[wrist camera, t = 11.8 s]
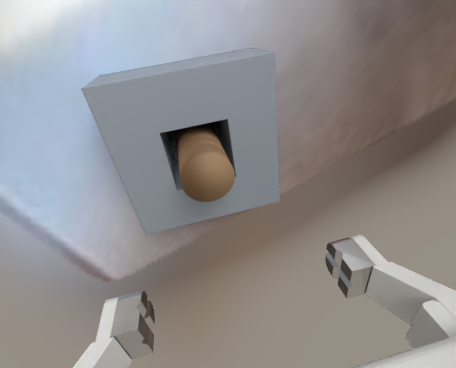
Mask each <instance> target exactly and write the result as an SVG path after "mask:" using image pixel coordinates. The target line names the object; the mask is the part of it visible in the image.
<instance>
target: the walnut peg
mask: <svg viewBox="0 0 456 368" xmlns="http://www.w3.org/2000/svg"><path fill="white" fill-rule="evenodd" d="M176 142H177V151H178V161H179V170H180V180H181V186H182V189H183V190H184V192H185V193H186V194H187V195H188V196H189V197H190V198H192V199H194V200H196V201H200V202H211V201H215V200H218V199H220V198H222V197H223V196H225V195H226V194H227V193H228V192H229V191H230V189H231V188H232V186H233V184H234V180H235V173H234V169H233V167H232V165H231V163H230V161H229V159H228V157H227V155H226V153H225V151H224V149H223V147H222V145H221V143H220V141H219V139H218V137H217V135H216V133H215V131H214V129H213V127H212V125H211V123H206V124H201V125H196V126H192V127H187V128H182V129H177V130H176Z"/></svg>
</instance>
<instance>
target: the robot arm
mask: <svg viewBox="0 0 456 368" xmlns="http://www.w3.org/2000/svg"><path fill="white" fill-rule="evenodd" d="M327 250H328V251H329V252H328V253H327V255H326V265H327V268H328V270H329V272H330V273H331V275H332V276H333V277H335V278H336V279H338V286H339V287H340V289H341V290H342V292H343V293H344V295H345V297H346V298H349V297H353V296H357V295H361V294H365V293H366V294H365V295H367V296H368V297H370V298H371V299H372V300H374V301H375V302H377V303H378V304H380V305H382V306H383V307H385V308H386V309H387V310H389V311H390V312H392V313H393V314H395V315H396V316H398V317H399V318H401V319H402V320H404V321H405V322H407V323H408V324H410V325H411V327H410V329H409V331H408V333H407V336H406V339H407V341H408V342H409V343H410V345H411V346H412V347H413V349H411V350H408V351H404V352H401V353H398V354H394V355H391V356H388V357H385V358H382V359H379V360H375V361H372V362H368V363H365V364H362V365H359V366H355V367H352V368H456V291H455V290H452V289H450V288H448V287H446V286H444V285H441V284H439V283H437V282H435V281H433V280H430V279H428V278H426V277H424V276H422V275H419V274H417V273H415V272H413V271H411V270H408V269H406V268H404V267H402V266H400V265H397V264H395V263H393V262H387V261H386V260H385V259H384V258H383V257H382V255H381V254H380V253H379V252H378V251H377V250H376V249H375V248H374V247H373V246H372V245H371V244H370V243H369V242H368V241H367V239H366V238H365V237H364V236H362V235H357V236H353V237H350V238H345V239H341V240H337V241H334V242H330V243H328V244H327ZM154 322H155V316H154V309H153V305H152V303H151V301H148V300H147V294H146V292H145V291H143V292H138V293H134V294H129V295H125V296H121V297H117V298H113V299H109V300H106V302H105V304H104V307H103V311H102V315H101V320H100V324H99V328H98V333H97V337H96V341H95V342H93V343H91V344H90V346H89V347H88V348H87V350H86V351H85V352H84V354H83V355H82V356H81V358H80V359H79V360H78V362H77V363H76V364H75V365H74V367H73V368H129V365H130V364H131V362H132V359H134V358H137V357H140V356H143V355H147V354H150V353H153V343H154V335H153V333H152V331H151V329H152V327H153V326H154Z"/></svg>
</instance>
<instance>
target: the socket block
mask: <svg viewBox="0 0 456 368" xmlns="http://www.w3.org/2000/svg"><path fill="white" fill-rule="evenodd" d="M82 91H83V94H84V96H85V98H86V101H87V103H88V105H89V107H90V110H91V112H92V114H93V117H94V119H95V121H96V123H97V126H98V128H99V130H100V132H101V135H102V137H103V139H104V142H105V144H106V146H107V148H108V151H109V153H110V155H111V157H112V160H113V162H114V164H115V167H116V169H117V171H118V173H119V176H120V178H121V180H122V182H123V185H124V187H125V189H126V192H127V194H128V196H129V198H130V201H131V203H132V205H133V207H134V210H135V212H136V214H137V217H138V219H139V221H140V223H141V226H142V228H143V230H144V232H145V235H149V234H153V233H157V232H161V231H165V230H169V229H173V228H177V227H181V226H185V225H189V224H193V223H197V222H201V221H204V220H208V219H212V218H216V217H220V216H224V215H228V214H232V213H236V212H240V211H244V210H248V209H252V208H256V207H260V206H264V205H268V204H272V203H276V202H280V191H279V163H278V136H277V109H276V82H275V54H274V52H269V51H264V50H259V49H254V48H248V49H243V50H237V51H232V52H226V53H221V54H216V55H210V56H205V57H199V58H194V59H188V60H183V61H177V62H172V63H166V64H161V65H155V66H150V67H144V68H139V69H134V70H128V71H123V72H117V73H112V74H106V75H101V76H99V77H97V78H96V79H94V80H93V81H92V82H90V83H89V84H87V85H86V86H85V87H83V88H82ZM215 121H219V126H220V132H221V138H222V144H223V149H224V151H225V153H226V155H227V157H228V159H229V161H230V163H231V165H232V167H233V169H234V173H235V180H234V184H233V186H232V188H231V189H230V191H229V192H228V193H227V194H226V195H225V196H223V197H222V198H220V199H218V200H215V201H211V202H200V201H196V200H194V199H192V198H190V197H189V196H188V195H187V194H186V193H185V192H184V190H183V189H182V186H181V180H180V170H179V161H177V162H175V161H174V157H173V154H172V150H171V147H170V143H169V140H168V136H167V133H166V132H168V131H173V130H177V129H182V128H187V127H192V126H196V125H201V124H206V123H211V122H215Z"/></svg>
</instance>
